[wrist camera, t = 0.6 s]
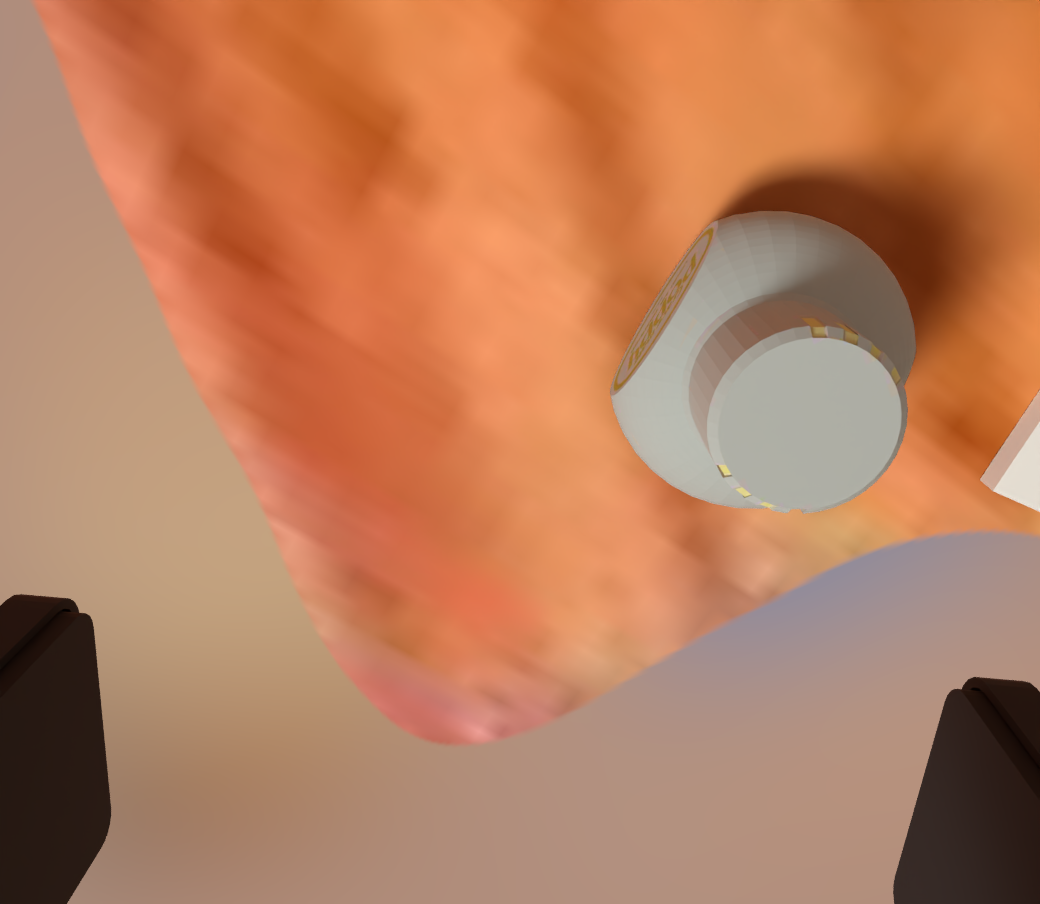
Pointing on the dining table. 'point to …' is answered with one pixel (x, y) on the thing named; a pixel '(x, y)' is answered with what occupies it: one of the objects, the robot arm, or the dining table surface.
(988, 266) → the dining table surface
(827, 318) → the air freshener
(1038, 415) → the board
